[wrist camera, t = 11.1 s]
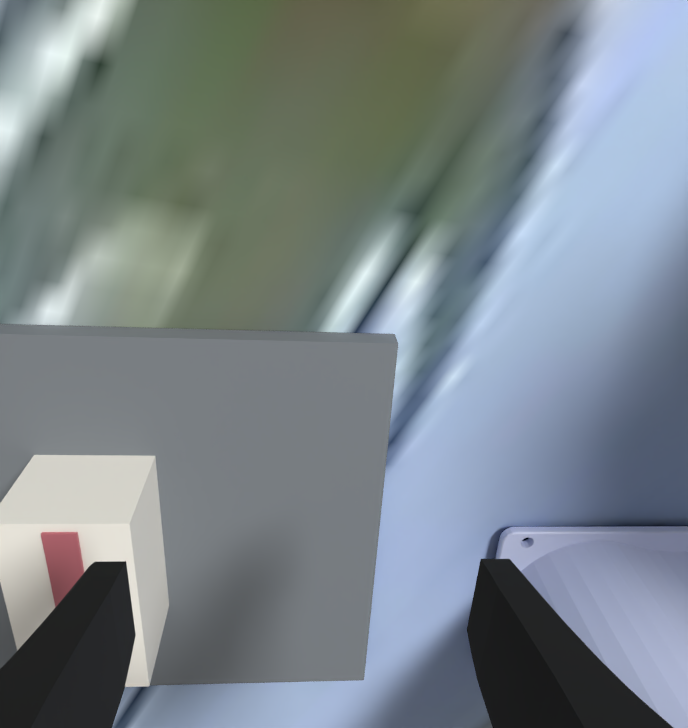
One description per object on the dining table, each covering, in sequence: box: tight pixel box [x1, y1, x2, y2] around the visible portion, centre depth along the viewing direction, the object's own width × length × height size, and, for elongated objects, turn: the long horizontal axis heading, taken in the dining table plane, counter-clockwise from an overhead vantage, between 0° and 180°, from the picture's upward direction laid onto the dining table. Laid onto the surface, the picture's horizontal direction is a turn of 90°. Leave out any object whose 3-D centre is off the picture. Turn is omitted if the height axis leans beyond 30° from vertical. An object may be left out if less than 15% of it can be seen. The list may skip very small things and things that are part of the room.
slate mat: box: [0, 324, 398, 685], centre depth 22 cm, size 20×16×1 cm
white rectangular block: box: [0, 455, 169, 687], centre depth 20 cm, size 7×4×4 cm, turn 177°
